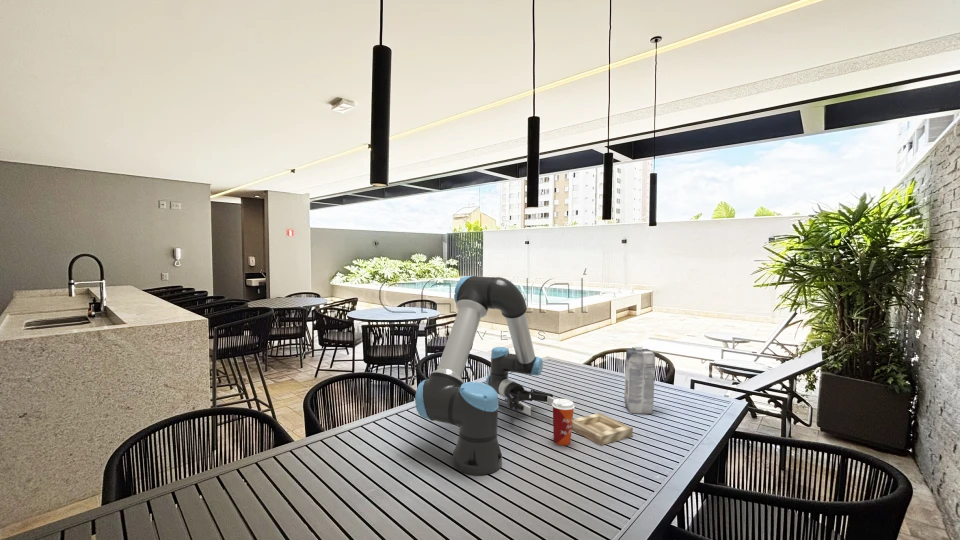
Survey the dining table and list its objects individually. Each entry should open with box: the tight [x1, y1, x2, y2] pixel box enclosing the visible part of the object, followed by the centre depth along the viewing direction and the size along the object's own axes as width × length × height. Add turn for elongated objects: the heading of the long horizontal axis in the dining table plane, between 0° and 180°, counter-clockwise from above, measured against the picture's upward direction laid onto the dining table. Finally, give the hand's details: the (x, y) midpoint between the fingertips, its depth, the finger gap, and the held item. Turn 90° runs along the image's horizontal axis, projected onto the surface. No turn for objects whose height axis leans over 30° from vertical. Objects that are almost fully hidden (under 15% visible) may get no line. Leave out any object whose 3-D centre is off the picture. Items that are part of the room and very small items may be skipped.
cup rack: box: [572, 412, 634, 446], centre depth 150 cm, size 16×16×3 cm
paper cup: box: [551, 398, 575, 447], centre depth 141 cm, size 8×8×14 cm
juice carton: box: [623, 345, 656, 415], centre depth 172 cm, size 9×10×27 cm
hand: (545, 408), depth 149 cm, fingers open, 13 cm apart
